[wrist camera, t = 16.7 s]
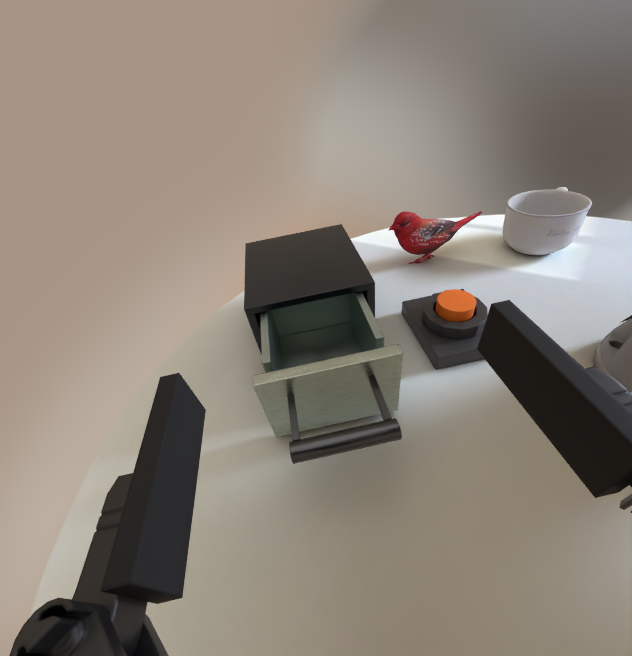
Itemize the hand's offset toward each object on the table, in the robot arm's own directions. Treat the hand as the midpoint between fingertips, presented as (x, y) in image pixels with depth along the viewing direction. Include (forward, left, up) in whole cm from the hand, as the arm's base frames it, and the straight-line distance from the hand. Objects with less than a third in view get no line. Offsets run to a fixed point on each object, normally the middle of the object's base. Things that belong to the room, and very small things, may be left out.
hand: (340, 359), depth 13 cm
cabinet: (+26, 0, -20) cm, 32 cm away
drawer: (+12, 0, -19) cm, 22 cm away
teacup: (+34, -42, -20) cm, 57 cm away
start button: (+18, -17, -16) cm, 30 cm away
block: (+18, -18, -20) cm, 32 cm away
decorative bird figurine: (+36, -24, -20) cm, 47 cm away
